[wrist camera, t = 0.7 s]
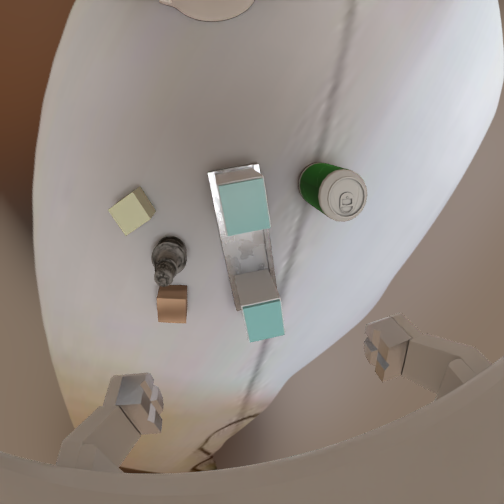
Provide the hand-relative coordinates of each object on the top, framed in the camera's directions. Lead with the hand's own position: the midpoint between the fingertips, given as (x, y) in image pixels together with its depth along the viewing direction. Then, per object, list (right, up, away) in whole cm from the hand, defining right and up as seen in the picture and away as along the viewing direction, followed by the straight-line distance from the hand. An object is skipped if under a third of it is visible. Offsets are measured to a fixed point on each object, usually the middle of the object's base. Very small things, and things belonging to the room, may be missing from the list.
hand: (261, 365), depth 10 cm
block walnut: (-15, -4, +43) cm, 46 cm away
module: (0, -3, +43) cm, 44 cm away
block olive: (-20, +12, +36) cm, 43 cm away
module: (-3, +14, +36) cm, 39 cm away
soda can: (+11, +16, +39) cm, 44 cm away
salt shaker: (-14, +4, +40) cm, 43 cm away
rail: (-1, +6, +41) cm, 41 cm away
